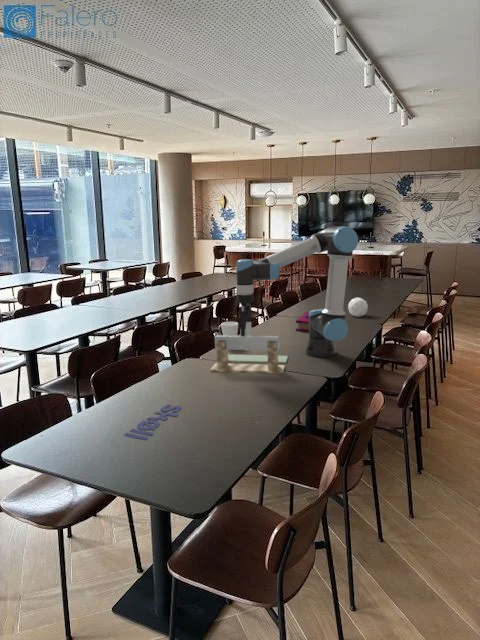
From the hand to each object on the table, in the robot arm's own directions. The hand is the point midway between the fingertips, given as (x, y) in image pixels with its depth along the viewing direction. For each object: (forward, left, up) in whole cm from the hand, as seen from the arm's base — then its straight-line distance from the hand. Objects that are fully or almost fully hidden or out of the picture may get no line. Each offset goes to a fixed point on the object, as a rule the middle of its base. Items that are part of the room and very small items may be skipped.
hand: (246, 338), depth 221 cm
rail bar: (0, 0, -5) cm, 5 cm away
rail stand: (0, 0, -15) cm, 15 cm away
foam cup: (+17, -40, -15) cm, 46 cm away
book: (-29, -90, -16) cm, 96 cm away
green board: (0, -16, -15) cm, 22 cm away
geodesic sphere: (-56, -124, -15) cm, 137 cm away
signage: (+22, +61, -16) cm, 66 cm away
